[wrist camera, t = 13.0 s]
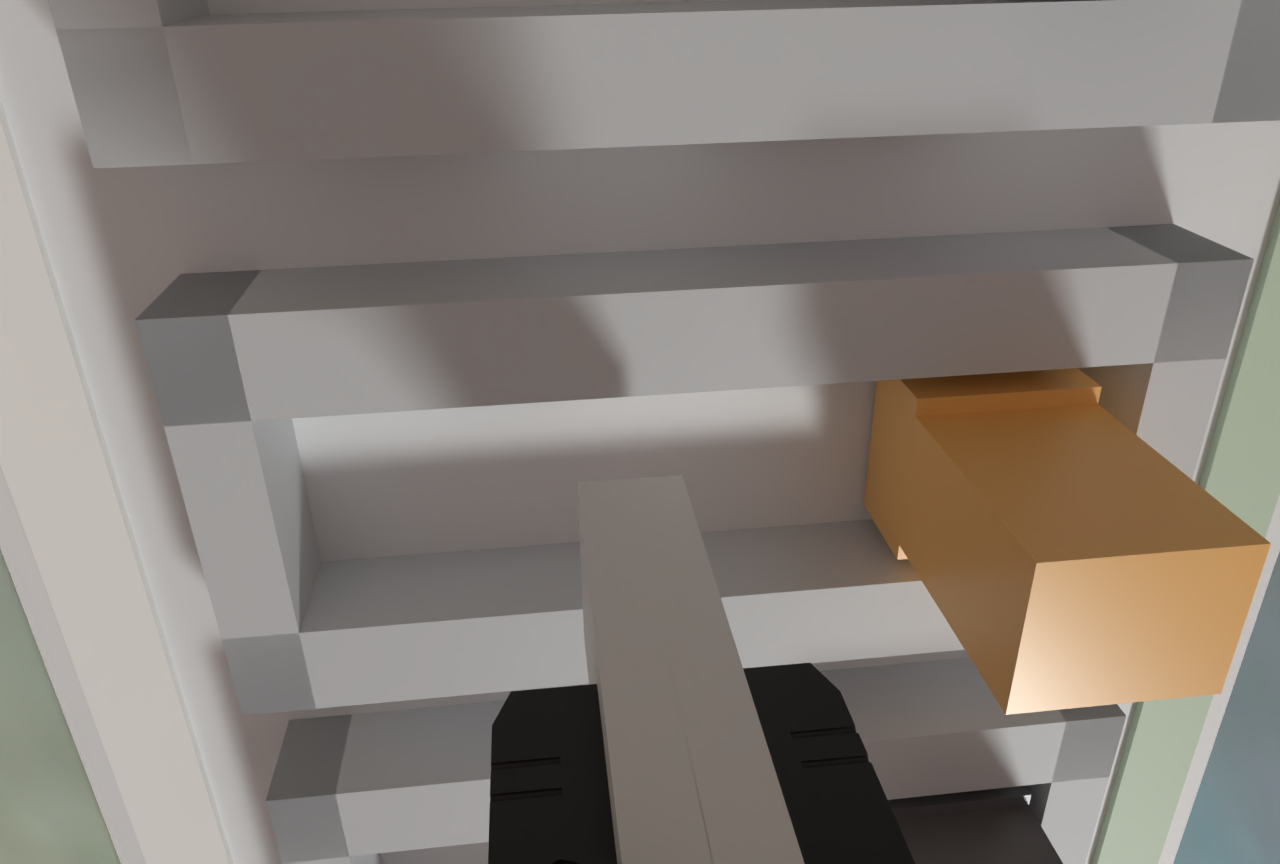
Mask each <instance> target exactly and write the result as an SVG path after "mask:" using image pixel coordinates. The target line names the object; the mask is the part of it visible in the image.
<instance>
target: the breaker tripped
mask: <svg viewBox="0 0 1280 864" xmlns="http://www.w3.org/2000/svg"><path fill="white" fill-rule="evenodd" d="M1101 388H1102V387H1101V386H1100V385H1099V384H1098V383H1096V382H1095V381H1094V380H1092V379H1091V378H1090V377H1088V376H1087V375H1086V374H1085V373H1083V372H1082V371H1081V370H1079V369H1078V368H1069V369H1054V370H1038V371H1023V372H1007V373H991V374H976V375H960V376H945V377H929V378H914V379H898V380H883V381H876V388H875V398H874V408H873V417H872V427H871V437H870V447H869V456H868V466H867V476H866V486H865V496H864V506H865V508H866V509H867V511H868V513H869V514H870V516H871V517H872V519H873V521H874V522H875V524H876V526H877V527H878V529H879V531H880V532H881V534H882V536H883V537H884V539H885V540H886V542H887V544H888V545H889V547H890V549H891V550H892V552H893V554H894V555H895V557H896V559H897V560H902V559H908V560H909V561H910V563H911V565H912V566H913V568H914V569H915V571H916V573H917V574H918V576H919V577H920V579H921V581H922V582H923V584H924V585H925V587H926V589H927V590H928V592H929V593H930V595H931V597H932V598H933V600H934V601H935V603H936V605H937V606H938V608H939V609H940V611H941V613H942V614H943V616H944V617H945V619H946V621H947V622H948V624H949V625H950V627H951V628H952V630H953V632H954V633H955V635H956V636H957V638H958V640H959V641H960V643H961V644H962V646H963V648H964V649H965V651H966V652H967V654H968V656H969V657H970V659H971V660H972V662H973V664H974V665H975V667H976V668H977V670H978V672H979V673H980V675H981V676H982V678H983V680H984V681H985V683H986V684H987V686H988V687H989V689H990V691H991V692H992V694H993V695H994V697H995V699H996V700H997V702H998V703H999V705H1000V707H1001V708H1002V710H1003V711H1004V713H1005V715H1010V714H1020V713H1030V712H1041V711H1051V710H1061V709H1071V708H1081V707H1092V706H1102V705H1112V704H1122V703H1132V702H1143V701H1153V700H1163V699H1173V698H1183V697H1194V696H1204V695H1214V694H1221V692H1222V689H1223V686H1224V683H1225V680H1226V677H1227V674H1228V671H1229V668H1230V665H1231V662H1232V659H1233V656H1234V653H1235V650H1236V647H1237V644H1238V641H1239V638H1240V635H1241V632H1242V629H1243V626H1244V623H1245V620H1246V617H1247V614H1248V611H1249V608H1250V605H1251V602H1252V599H1253V596H1254V593H1255V590H1256V587H1257V584H1258V581H1259V578H1260V575H1261V572H1262V569H1263V566H1264V563H1265V560H1266V557H1267V554H1268V551H1269V548H1270V545H1271V543H1270V542H1269V541H1267V540H1266V539H1265V538H1264V537H1262V536H1261V535H1260V534H1259V533H1257V532H1256V531H1255V530H1254V529H1252V528H1251V527H1250V526H1249V525H1247V524H1246V523H1245V522H1244V521H1242V520H1241V519H1240V518H1239V517H1238V516H1236V515H1235V514H1234V513H1233V512H1231V511H1230V510H1229V509H1228V508H1226V507H1225V506H1224V505H1223V504H1221V503H1220V502H1219V501H1218V500H1216V499H1215V498H1214V497H1213V496H1211V495H1210V494H1209V493H1208V492H1207V491H1205V490H1204V489H1203V488H1202V487H1200V486H1199V485H1198V484H1197V483H1195V482H1194V481H1193V480H1192V479H1190V478H1189V477H1188V476H1187V475H1185V474H1184V473H1183V472H1182V471H1180V470H1179V469H1178V468H1177V467H1176V466H1174V465H1173V464H1172V463H1171V462H1169V461H1168V460H1167V459H1166V458H1164V457H1163V456H1162V455H1161V454H1159V453H1158V452H1157V451H1156V450H1154V449H1153V448H1152V447H1151V446H1149V445H1148V444H1147V443H1146V442H1145V441H1143V440H1142V439H1141V438H1140V437H1138V436H1137V435H1136V434H1135V433H1133V432H1132V431H1131V430H1130V429H1128V428H1127V427H1126V426H1125V425H1123V424H1122V423H1121V422H1120V421H1118V420H1117V419H1116V418H1115V417H1114V416H1112V415H1111V414H1110V413H1109V412H1107V411H1106V410H1105V409H1104V408H1102V407H1101V406H1100V405H1099V404H1098V402H1099V397H1100V392H1101Z"/></svg>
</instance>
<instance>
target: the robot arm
mask: <svg viewBox="0 0 1280 864" xmlns="http://www.w3.org/2000/svg"><path fill="white" fill-rule="evenodd" d="M577 491H578V513H579V535H580V557H581V579H582V601H583V623H584V640H585V650H586V660H587V670H588V679H589V685H578V686H567V687H556V688H544V689H533V690H521V691H511V692H510V694H509V696H508V698H507V699H506V701H505V703H504V705H503V706H502V708H501V710H500V712H499V714H498V715H497V717H496V719H495V721H494V722H493V724H492V739H491V776H490V812H489V849H488V864H915V862H914V859H913V857H912V855H911V852H910V850H909V848H908V846H907V843H906V841H905V839H904V836H903V834H902V832H901V829H900V827H899V825H898V823H897V820H896V818H895V816H894V813H893V811H892V809H891V806H890V804H889V802H888V800H887V797H886V795H885V793H884V790H883V788H882V786H881V784H880V781H879V779H878V777H877V774H876V772H875V770H874V767H873V765H872V763H871V762H869V760H868V754H867V751H866V749H865V747H864V744H863V742H862V740H861V738H860V735H859V733H856V729H855V724H854V721H853V719H852V717H851V715H850V712H849V710H848V708H847V705H846V703H845V701H844V698H843V696H842V694H841V692H840V690H839V689H838V688H837V687H835V686H834V685H833V684H832V683H831V682H830V681H829V680H828V679H827V678H826V677H825V676H824V675H823V674H822V673H821V672H820V671H819V670H817V669H816V668H815V667H814V666H813V665H812V664H811V663H800V664H788V665H777V666H765V667H754V668H743V667H742V664H741V660H740V657H739V654H738V651H737V648H736V644H735V641H734V638H733V635H732V632H731V629H730V625H729V622H728V619H727V616H726V613H725V610H724V606H723V603H722V600H721V597H720V594H719V591H718V587H717V584H716V581H715V578H714V575H713V571H712V568H711V565H710V562H709V559H708V556H707V552H706V549H705V546H704V543H703V540H702V537H701V533H700V530H699V527H698V524H697V521H696V518H695V514H694V511H693V508H692V505H691V502H690V498H689V495H688V492H687V489H686V486H685V483H684V479H683V476H682V475H680V476H665V477H650V478H635V479H620V480H605V481H590V482H577Z"/></svg>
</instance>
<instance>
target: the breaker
mask: <svg viewBox="0 0 1280 864" xmlns="http://www.w3.org/2000/svg"><path fill="white" fill-rule="evenodd" d="M1030 799H1031V793H1030V792H1029V790H1028V788H1027V787H1026V785H1025V786H1015V787H1006V788H996V789H987V790H977V791H968V792H958V793H949V794H939V795H930V796H920V797H911V798H901V799H892V800H888V802H889V804H890V806H891V809H892V811H893V813H894V816H895V818H896V820H897V823H898V825H899V827H900V829H901V832H902V834H903V836H904V839H905V841H906V843H907V846H908V848H909V850H910V852H911V855H912V857H913V859H914V862H915V864H1063V862H1062V861H1061V859H1060V857H1059V856H1058V854H1057V852H1056V851H1055V849H1054V847H1053V846H1052V844H1051V842H1050V840H1049V839H1048V837H1047V835H1046V834H1045V832H1044V830H1043V829H1042V827H1041V825H1040V823H1039V822H1038V820H1037V818H1036V817H1035V815H1034V813H1033V812H1032V810H1031V808H1030V806H1029V803H1030Z"/></svg>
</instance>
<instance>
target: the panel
mask: <svg viewBox="0 0 1280 864" xmlns="http://www.w3.org/2000/svg"><path fill="white" fill-rule="evenodd" d="M1069 368H1078V369H1079V370H1081V371H1082V372H1083V373H1085V374H1086V375H1087V376H1088V377H1090V378H1091V379H1092V380H1094V381H1095V382H1096V383H1098V384H1099V385H1100V386H1101V387H1102V388H1101V392H1100V397H1099V402H1098V404H1099V405H1100V406H1101V407H1102V408H1104V409H1105V410H1106V411H1107V412H1109V413H1110V414H1111V415H1112V416H1114V417H1115V418H1116V419H1117V420H1118V421H1120V422H1121V423H1122V424H1123V425H1125V426H1126V427H1127V428H1128V429H1130V430H1131V431H1132V432H1133V433H1135V434H1136V435H1137V436H1138V437H1140V438H1141V439H1142V440H1143V441H1145V442H1146V443H1147V444H1148V445H1149V446H1151V447H1152V448H1153V449H1154V450H1156V451H1157V452H1158V453H1159V454H1161V455H1162V456H1163V457H1164V458H1166V459H1167V460H1168V461H1169V462H1171V463H1172V464H1173V465H1174V466H1176V467H1177V468H1178V469H1179V470H1180V471H1182V472H1183V473H1184V474H1185V475H1187V476H1188V477H1189V478H1190V479H1192V480H1193V481H1194V482H1195V483H1197V484H1198V485H1199V486H1200V487H1202V488H1203V489H1204V490H1205V491H1207V492H1208V493H1209V494H1210V495H1211V496H1213V497H1214V498H1215V499H1216V500H1218V501H1219V502H1220V503H1221V504H1223V505H1224V506H1225V507H1226V508H1228V509H1229V510H1230V511H1231V512H1233V513H1234V514H1235V515H1236V516H1238V517H1239V518H1240V519H1241V520H1242V521H1244V522H1245V523H1246V524H1247V525H1249V526H1250V527H1251V528H1252V529H1254V530H1255V531H1256V532H1257V533H1259V534H1260V535H1261V536H1262V537H1264V538H1265V539H1266V540H1267V541H1269V542H1270V543H1271V545H1270V548H1269V551H1268V554H1267V557H1266V560H1265V563H1264V566H1263V569H1262V572H1261V575H1260V578H1259V581H1258V584H1257V587H1256V590H1255V593H1254V596H1253V599H1252V602H1251V605H1250V608H1249V611H1248V614H1247V617H1246V620H1245V623H1244V626H1243V629H1242V632H1241V635H1240V638H1239V641H1238V644H1237V647H1236V650H1235V653H1234V656H1233V659H1232V662H1231V665H1230V668H1229V671H1228V674H1227V677H1226V680H1225V683H1224V686H1223V689H1222V692H1221V694H1214V695H1204V696H1194V697H1183V698H1173V699H1163V700H1153V701H1143V702H1132V703H1122V704H1112V705H1102V706H1092V707H1081V708H1071V709H1061V710H1051V711H1041V712H1030V713H1020V714H1010V715H1005V713H1004V711H1003V710H1002V708H1001V707H1000V705H999V703H998V702H997V700H996V699H995V697H994V695H993V694H992V692H991V691H990V689H989V687H988V686H987V684H986V683H985V681H984V680H983V678H982V676H981V675H980V673H979V672H978V670H977V668H976V667H975V665H974V664H973V662H972V660H971V659H970V657H969V656H968V654H967V652H966V651H965V649H964V648H963V646H962V644H961V643H960V641H959V640H958V638H957V636H956V635H955V633H954V632H953V630H952V628H951V627H950V625H949V624H948V622H947V621H946V619H945V617H944V616H943V614H942V613H941V611H940V609H939V608H938V606H937V605H936V603H935V601H934V600H933V598H932V597H931V595H930V593H929V592H928V590H927V589H926V587H925V585H924V584H923V582H922V581H921V579H920V577H919V576H918V574H917V573H916V571H915V569H914V568H913V566H912V565H911V563H910V561H909V560H908V559H902V560H897V559H896V557H895V555H894V554H893V552H892V550H891V549H890V547H889V545H888V544H887V542H886V540H885V539H884V537H883V536H882V534H881V532H880V531H879V529H878V527H877V526H876V524H875V522H874V521H873V519H872V517H871V516H870V514H869V513H868V511H867V509H866V508H865V506H864V496H865V486H866V476H867V466H868V456H869V447H870V437H871V427H872V417H873V408H874V398H875V388H876V381H883V380H898V379H914V378H929V377H945V376H960V375H976V374H991V373H1007V372H1023V371H1038V370H1054V369H1069ZM680 475H682V476H683V479H684V483H685V486H686V489H687V492H688V495H689V498H690V502H691V505H692V508H693V511H694V514H695V518H696V521H697V524H698V527H699V530H700V533H701V537H702V540H703V543H704V546H705V549H706V552H707V556H708V559H709V562H710V565H711V568H712V571H713V575H714V578H715V581H716V584H717V587H718V591H719V594H720V597H721V600H722V603H723V606H724V610H725V613H726V616H727V619H728V622H729V625H730V629H731V632H732V635H733V638H734V641H735V644H736V648H737V651H738V654H739V657H740V660H741V664H742V667H743V668H754V667H765V666H777V665H788V664H800V663H811V664H812V665H813V666H814V667H815V668H816V669H817V670H819V671H820V672H821V673H822V674H823V675H824V676H825V677H826V678H827V679H828V680H829V681H830V682H831V683H832V684H833V685H834V686H835V687H837V688H838V689H839V690H840V692H841V694H842V696H843V698H844V701H845V703H846V705H847V708H848V710H849V712H850V715H851V717H852V719H853V721H854V724H855V729H856V733H859V735H860V738H861V740H862V742H863V744H864V747H865V749H866V751H867V754H868V760H869V762H871V763H872V765H873V767H874V770H875V772H876V774H877V777H878V779H879V781H880V784H881V786H882V788H883V790H884V793H885V795H886V797H887V800H892V799H901V798H911V797H920V796H930V795H939V794H949V793H958V792H968V791H977V790H987V789H996V788H1006V787H1015V786H1025V785H1026V787H1027V788H1028V790H1029V792H1030V793H1031V799H1030V803H1029V806H1030V808H1031V810H1032V812H1033V813H1034V815H1035V817H1036V818H1037V820H1038V822H1039V823H1040V825H1041V827H1042V829H1043V830H1044V832H1045V834H1046V835H1047V837H1048V839H1049V840H1050V842H1051V844H1052V846H1053V847H1054V849H1055V851H1056V852H1057V854H1058V856H1059V857H1060V859H1061V861H1062V862H1063V864H1173V862H1174V859H1175V856H1176V853H1177V850H1178V848H1179V845H1180V842H1181V839H1182V836H1183V833H1184V830H1185V827H1186V824H1187V821H1188V818H1189V815H1190V812H1191V809H1192V806H1193V803H1194V800H1195V798H1196V795H1197V792H1198V789H1199V786H1200V783H1201V780H1202V777H1203V774H1204V771H1205V768H1206V765H1207V762H1208V759H1209V756H1210V753H1211V750H1212V748H1213V745H1214V742H1215V739H1216V736H1217V733H1218V730H1219V727H1220V724H1221V721H1222V718H1223V715H1224V712H1225V709H1226V706H1227V703H1228V700H1229V698H1230V695H1231V692H1232V689H1233V686H1234V683H1235V680H1236V677H1237V674H1238V671H1239V668H1240V665H1241V662H1242V659H1243V656H1244V653H1245V650H1246V648H1247V645H1248V642H1249V639H1250V636H1251V633H1252V630H1253V627H1254V624H1255V621H1256V618H1257V615H1258V612H1259V609H1260V606H1261V603H1262V600H1263V598H1264V595H1265V592H1266V589H1267V586H1268V583H1269V580H1270V577H1271V574H1272V571H1273V568H1274V565H1275V562H1276V559H1277V556H1278V553H1279V550H1280V0H0V549H1V551H2V554H3V556H4V559H5V562H6V564H7V567H8V570H9V572H10V575H11V577H12V580H13V583H14V585H15V588H16V590H17V593H18V596H19V598H20V601H21V604H22V606H23V609H24V611H25V614H26V617H27V619H28V622H29V624H30V627H31V630H32V632H33V635H34V637H35V640H36V643H37V645H38V648H39V651H40V653H41V656H42V658H43V661H44V664H45V666H46V669H47V671H48V674H49V677H50V679H51V682H52V684H53V687H54V690H55V692H56V695H57V698H58V700H59V703H60V705H61V708H62V711H63V713H64V716H65V718H66V721H67V724H68V726H69V729H70V732H71V734H72V737H73V739H74V742H75V745H76V747H77V750H78V752H79V755H80V758H81V760H82V763H83V765H84V768H85V771H86V773H87V776H88V779H89V781H90V784H91V786H92V789H93V792H94V794H95V797H96V799H97V802H98V805H99V807H100V810H101V813H102V815H103V818H104V820H105V823H106V826H107V828H108V831H109V833H110V836H111V839H112V841H113V844H114V846H115V849H116V852H117V854H118V857H119V860H120V862H121V864H488V849H489V812H490V776H491V739H492V724H493V722H494V721H495V719H496V717H497V715H498V714H499V712H500V710H501V708H502V706H503V705H504V703H505V701H506V699H507V698H508V696H509V694H510V692H511V691H521V690H533V689H544V688H556V687H567V686H578V685H589V679H588V670H587V660H586V650H585V640H584V623H583V601H582V579H581V557H580V535H579V513H578V491H577V482H590V481H605V480H620V479H635V478H650V477H665V476H680Z"/></svg>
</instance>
